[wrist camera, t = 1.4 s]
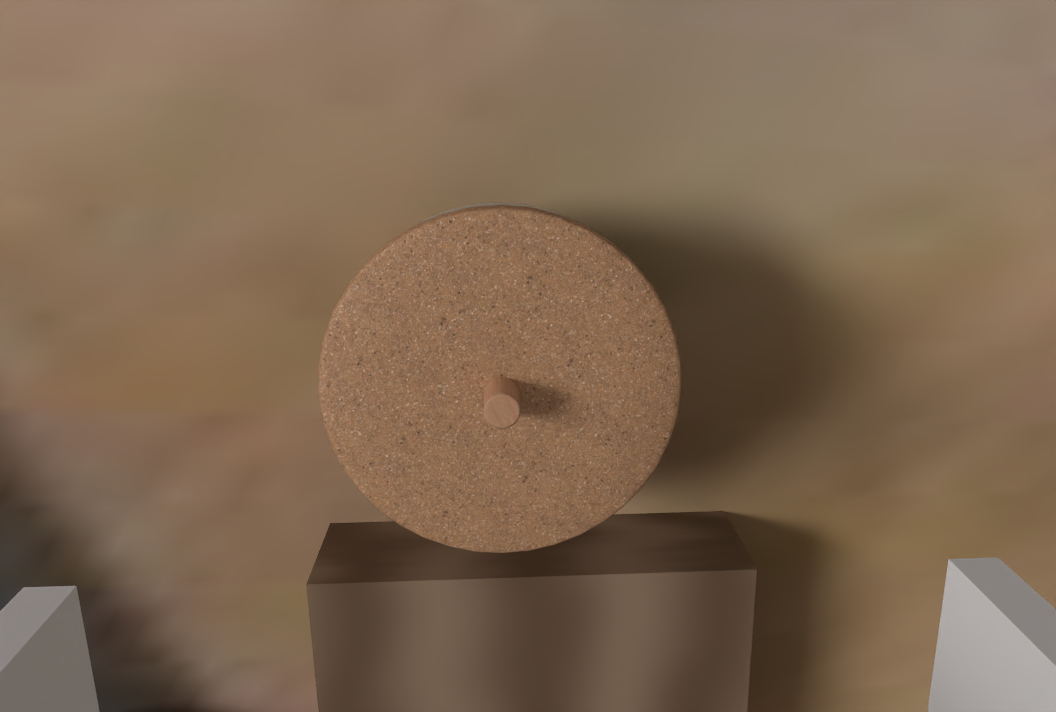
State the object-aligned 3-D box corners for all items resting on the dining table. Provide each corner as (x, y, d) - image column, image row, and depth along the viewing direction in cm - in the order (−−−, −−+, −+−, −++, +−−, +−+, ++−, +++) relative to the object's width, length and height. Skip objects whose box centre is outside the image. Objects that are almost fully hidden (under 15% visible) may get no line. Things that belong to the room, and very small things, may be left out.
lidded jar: (563, 130, 30) (593, 140, 21) (684, 383, 33) (755, 486, 24) (303, 266, 31) (227, 330, 22) (441, 501, 34) (424, 641, 25)
